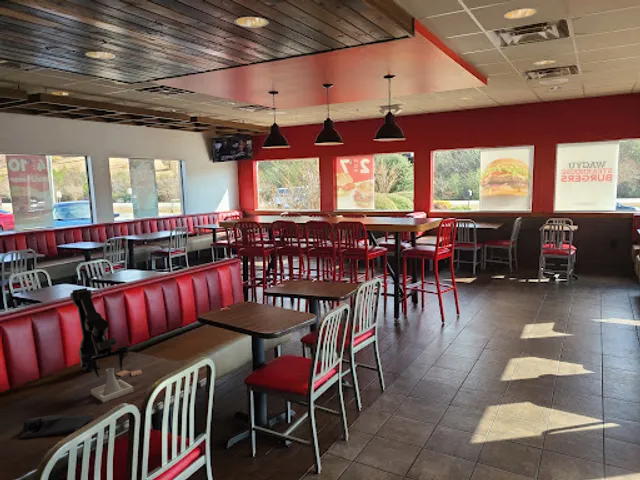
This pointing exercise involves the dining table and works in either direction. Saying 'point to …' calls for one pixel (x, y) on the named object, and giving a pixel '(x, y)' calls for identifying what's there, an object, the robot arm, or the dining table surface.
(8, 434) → the dining table surface
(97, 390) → the tray
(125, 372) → the tile
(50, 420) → the black crumpled cloth
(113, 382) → the flask
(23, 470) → the dining table surface
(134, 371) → the tile
